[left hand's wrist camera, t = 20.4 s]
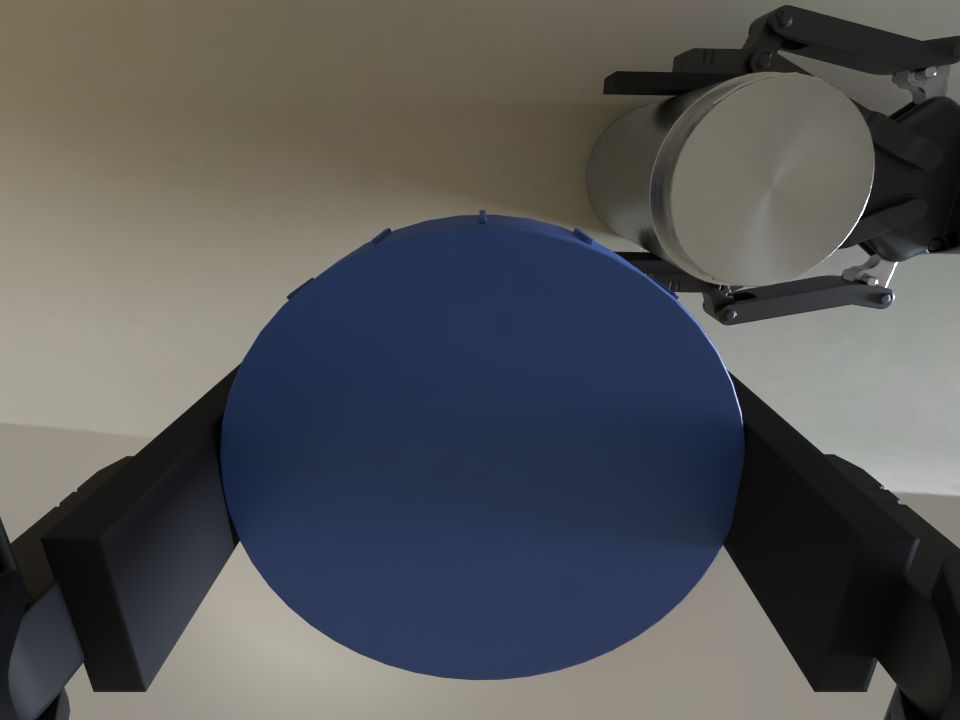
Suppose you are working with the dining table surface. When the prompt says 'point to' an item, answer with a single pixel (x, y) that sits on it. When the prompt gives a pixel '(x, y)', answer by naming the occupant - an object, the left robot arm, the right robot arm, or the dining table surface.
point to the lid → (482, 449)
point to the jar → (737, 177)
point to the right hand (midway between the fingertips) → (601, 177)
